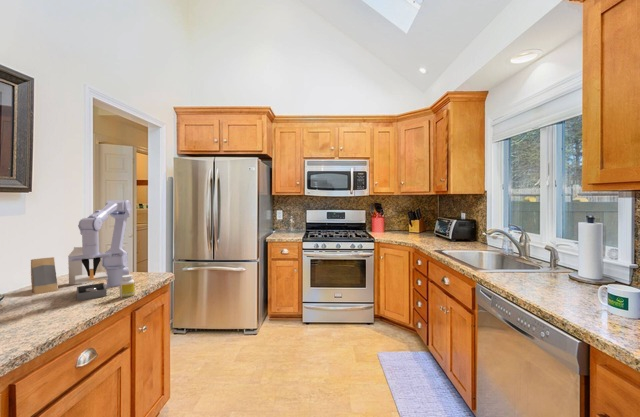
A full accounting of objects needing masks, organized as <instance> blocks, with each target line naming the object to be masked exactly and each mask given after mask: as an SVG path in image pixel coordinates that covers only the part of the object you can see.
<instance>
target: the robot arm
mask: <svg viewBox="0 0 640 417" xmlns="http://www.w3.org/2000/svg"><path fill="white" fill-rule="evenodd" d="M104 204H105V206H104V207H103V208H102V209H96V210H95V211H94V212H93V213H92V214H89V216H87V217H83V218H82V219H80V220H79V221H78V225H77V226H78V229H79V234H80V235H81V241H82V242H81V243H82V246H81V247H82V251H83V255H79V256H71V257H69V262H72V261H79V260H82V263H83V265H84V266H85V268H86V270H87V273H88V276H90V270H89V259H93V273H94V275H95V273H97V268H98V266H99V264H100V262H101V266H102V267H103V268H104V270H105V272H106V274H107V275H108V279H106V283H104V284H105V287H106V289H109V288H115V287H120V282H121V281H122V276H124V275H130V270H129V267H128V266H127V265H128V263H129V258H128V252H127V251H126V250H124V249H123V247H124V240H125V233H126V227H127V221H128V218H129V217H131V213H132V204H131V201H130V200H128V199H124V200H123V199H122V200H121V199H120V200H119V199H117V200H115V199H114V200H113V199H108V200H107V201H106V202H105V203H104ZM109 216H110V217H111V218H113V219H114V226H113V230H112V231H113V232H112V238H111V244H110V248H109V249H108V250H106V251H104V252H100V239H99V238H100V236H99V235H100V234H99V231H100V230H101V229H102V225H103V224H104V223H105V222H106V221H107V220H108V219H109Z"/></svg>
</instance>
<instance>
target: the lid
mask: <svg viewBox="0 0 640 417" xmlns="http://www.w3.org/2000/svg"><path fill="white" fill-rule="evenodd" d="M89 270H90V276H88V274H85V275H77V276H75V284H78V283H85V282H88V283H91V282H97V281H104V280H107V279H108V275H107V274H106V271H100V272H96V273H95V275H94V273H93V269H89ZM85 284H86V283H85Z"/></svg>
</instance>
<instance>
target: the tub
mask: <svg viewBox="0 0 640 417" xmlns="http://www.w3.org/2000/svg"><path fill="white" fill-rule="evenodd" d="M105 284H106V283H104V282H100V283H99V282H98V283H95V284H94V283H93V284H87V285H80V286H76V301H77V302H81V301H85V300H92V299H96V298H104V297H107V296H108V295H107V288H106V286H105ZM90 287H97V291H92V292H86V290H85V289H86V288H90Z"/></svg>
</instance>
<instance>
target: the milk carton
mask: <svg viewBox="0 0 640 417" xmlns="http://www.w3.org/2000/svg"><path fill="white" fill-rule="evenodd" d="M79 255H83V251H82V246H78V247H77V246H73V250H72V251H71V252H70V253H69V255H67V256H68V257H67V260H68V263H67V264H68V285H71V286H72V285H74V286H75V285H76V286H77V285H80V286H83V285H85V284H88V283H89V282H85V283H78V284H75V276H77V275H85V274H88V273H87V270H86V268H85V266H84V265H83V263H82V260H79V261H72V262H69V257H71V256H79ZM89 269H93V259H89Z"/></svg>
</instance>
